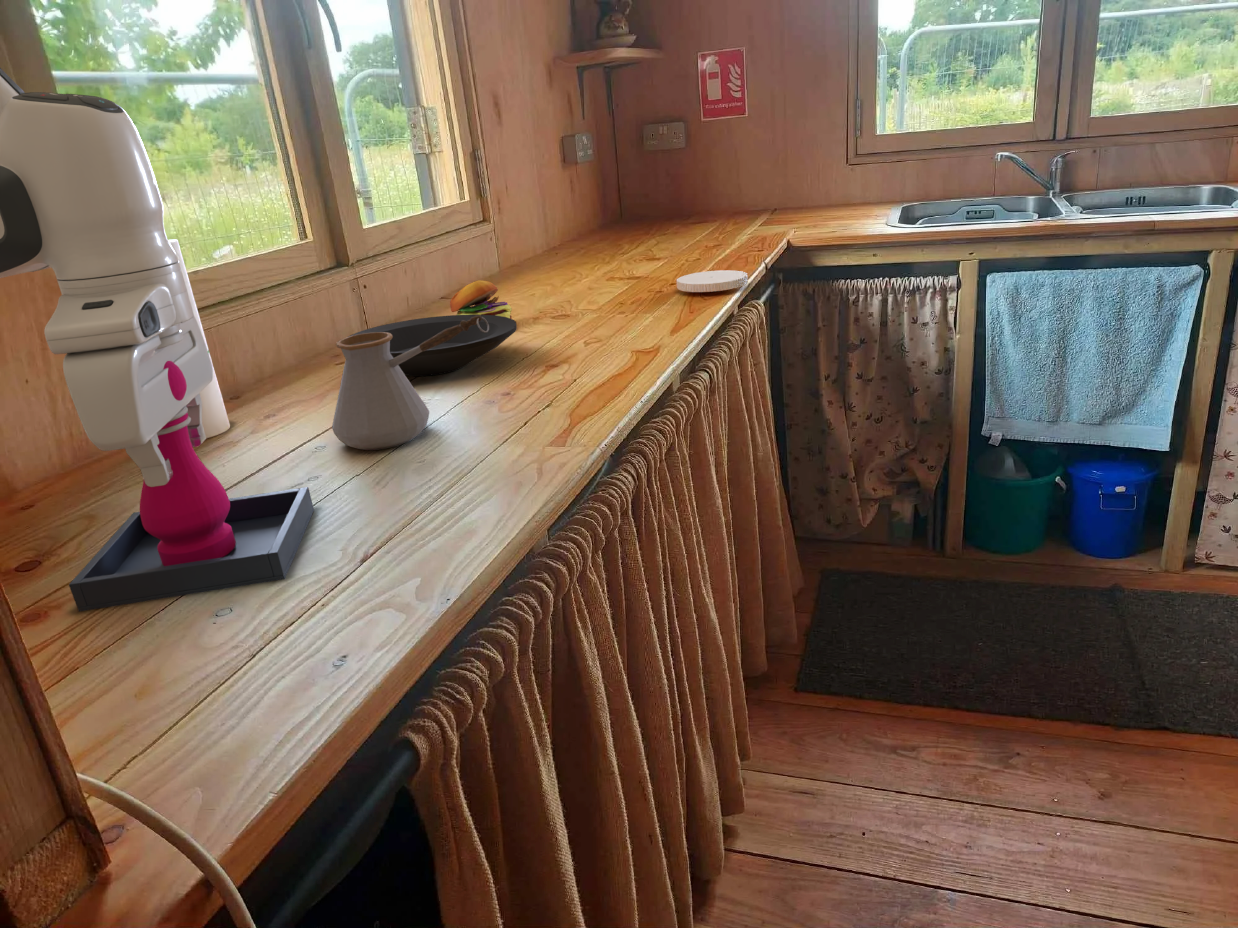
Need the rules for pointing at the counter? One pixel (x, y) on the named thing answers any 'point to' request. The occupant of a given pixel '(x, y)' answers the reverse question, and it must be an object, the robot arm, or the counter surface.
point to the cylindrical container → (211, 395)
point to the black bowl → (450, 352)
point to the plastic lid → (712, 281)
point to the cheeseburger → (479, 300)
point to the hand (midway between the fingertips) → (178, 462)
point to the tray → (259, 556)
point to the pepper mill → (185, 495)
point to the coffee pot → (382, 391)
